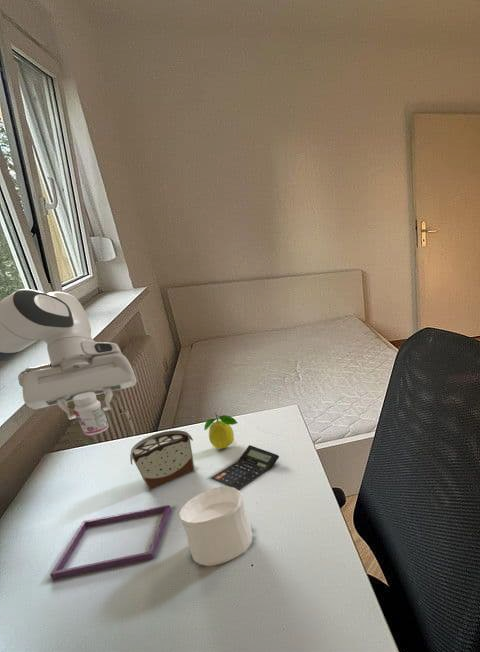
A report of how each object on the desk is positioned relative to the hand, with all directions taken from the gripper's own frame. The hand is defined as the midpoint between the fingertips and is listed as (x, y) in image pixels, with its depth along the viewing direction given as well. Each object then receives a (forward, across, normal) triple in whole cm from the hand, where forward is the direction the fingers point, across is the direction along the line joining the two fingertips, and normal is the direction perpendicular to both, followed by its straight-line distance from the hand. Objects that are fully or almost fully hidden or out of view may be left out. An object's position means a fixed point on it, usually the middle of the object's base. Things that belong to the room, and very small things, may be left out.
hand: (90, 413), depth 95 cm
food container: (+18, +10, +4) cm, 21 cm away
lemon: (+15, +24, +7) cm, 29 cm away
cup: (+40, +15, -18) cm, 46 cm away
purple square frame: (+30, 0, -8) cm, 32 cm away
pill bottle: (+3, 0, +4) cm, 5 cm away
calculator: (+25, +25, -3) cm, 35 cm away
